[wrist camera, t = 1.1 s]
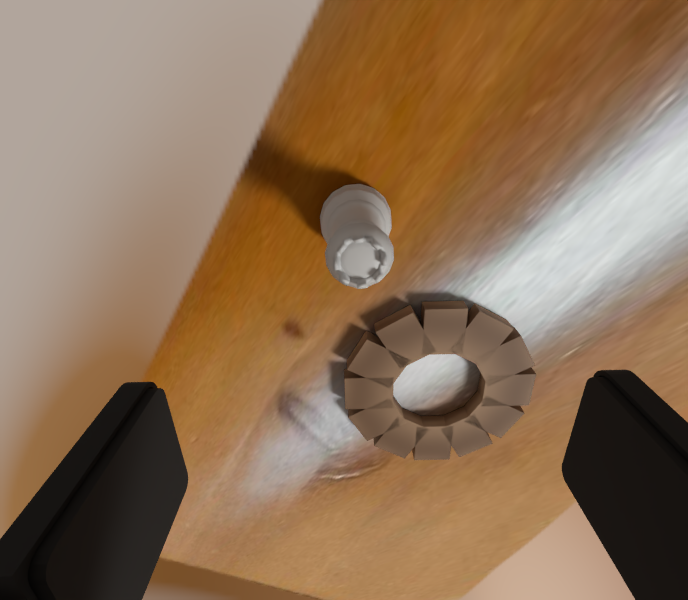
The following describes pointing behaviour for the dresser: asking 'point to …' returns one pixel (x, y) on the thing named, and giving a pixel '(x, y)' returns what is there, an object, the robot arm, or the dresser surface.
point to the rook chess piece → (357, 235)
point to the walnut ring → (438, 338)
